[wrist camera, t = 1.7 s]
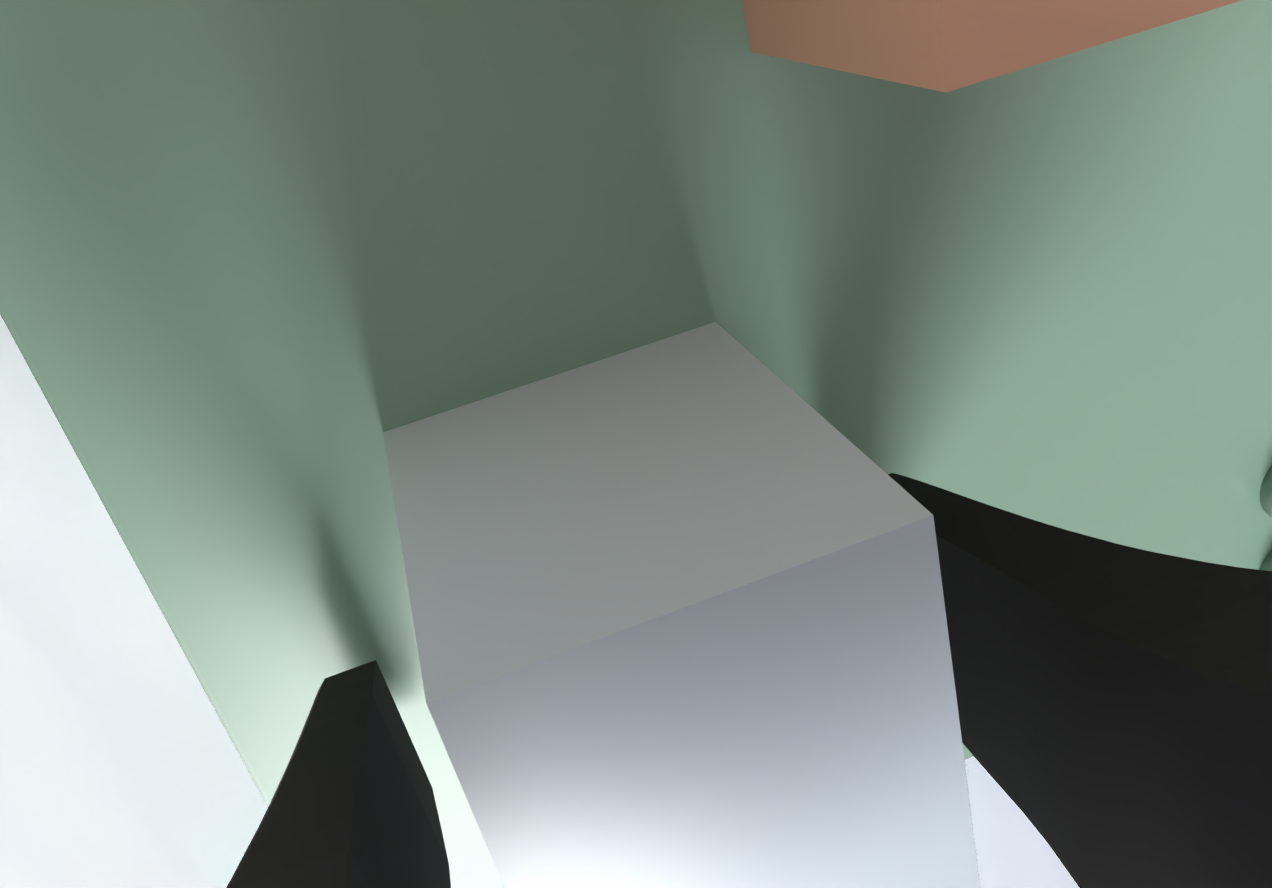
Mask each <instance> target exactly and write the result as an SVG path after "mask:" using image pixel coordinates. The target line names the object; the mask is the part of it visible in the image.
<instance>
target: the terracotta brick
mask: <svg viewBox="0 0 1272 888" xmlns="http://www.w3.org/2000/svg"><path fill="white" fill-rule="evenodd" d="M1239 1H1242V0H742V6H743V11H744V17H745V22H746V28H747V34H748V39H749V45H750V51H751V52H753V53H758V54H763V55H767V56H772V57H777V58H782V59H787V60H791V61H796V62H801V63H806V64H811V65H816V66H820V67H825V68H830V69H835V70H840V71H844V72H849V73H854V74H859V75H864V76H869V77H873V78H878V79H883V80H888V81H893V82H898V83H902V84H907V85H912V86H917V87H922V88H926V89H931V90H936V91H941V92H949V91H953V90H956V89H959V88H962V87H966V86H969V85H972V84H975V83H978V82H982V81H985V80H988V79H991V78H995V77H998V76H1001V75H1004V74H1007V73H1011V72H1014V71H1017V70H1020V69H1023V68H1027V67H1030V66H1033V65H1036V64H1040V63H1043V62H1046V61H1049V60H1052V59H1056V58H1059V57H1062V56H1065V55H1069V54H1072V53H1075V52H1078V51H1081V50H1085V49H1088V48H1091V47H1094V46H1097V45H1101V44H1104V43H1107V42H1110V41H1114V40H1117V39H1120V38H1123V37H1126V36H1130V35H1133V34H1136V33H1139V32H1143V31H1146V30H1149V29H1152V28H1155V27H1159V26H1162V25H1165V24H1168V23H1171V22H1175V21H1178V20H1181V19H1184V18H1188V17H1191V16H1194V15H1197V14H1200V13H1204V12H1207V11H1210V10H1213V9H1217V8H1220V7H1223V6H1226V5H1229V4H1233V3H1236V2H1239Z"/></svg>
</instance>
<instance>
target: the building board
mask: <svg viewBox="0 0 1272 888" xmlns="http://www.w3.org/2000/svg"><path fill="white" fill-rule="evenodd" d="M0 314H1V316H2V318H3V320H4V322H5V324H6V326H7V327H8V329H9V331H10V333H11V335H12V337H13V338H14V340H15V342H16V344H17V346H18V348H19V349H20V351H21V353H22V355H23V357H24V359H25V361H26V362H27V364H28V366H29V368H30V370H31V372H32V373H33V375H34V377H35V379H36V381H37V383H38V384H39V386H40V388H41V390H42V392H43V394H44V396H45V397H46V399H47V401H48V403H49V405H50V407H51V408H52V410H53V412H54V414H55V416H56V418H57V420H58V421H59V423H60V425H61V427H62V429H63V431H64V432H65V434H66V436H67V438H68V440H69V442H70V443H71V445H72V447H73V449H74V451H75V453H76V455H77V456H78V458H79V460H80V462H81V464H82V466H83V467H84V469H85V471H86V473H87V475H88V477H89V478H90V480H91V482H92V484H93V486H94V488H95V490H96V491H97V493H98V495H99V497H100V499H101V501H102V502H103V504H104V506H105V508H106V510H107V512H108V514H109V515H110V517H111V519H112V521H113V523H114V525H115V526H116V528H117V530H118V532H119V534H120V536H121V537H122V539H123V541H124V543H125V545H126V547H127V549H128V550H129V552H130V554H131V556H132V558H133V560H134V561H135V563H136V565H137V567H138V569H139V571H140V572H141V574H142V576H143V578H144V580H145V582H146V584H147V585H148V587H149V589H150V591H151V593H152V595H153V596H154V598H155V600H156V602H157V604H158V606H159V608H160V609H161V611H162V613H163V615H164V617H165V619H166V620H167V622H168V624H169V626H170V628H171V630H172V631H173V633H174V635H175V637H176V639H177V641H178V643H179V644H180V646H181V648H182V650H183V652H184V654H185V655H186V657H187V659H188V661H189V663H190V665H191V666H192V668H193V670H194V672H195V674H196V676H197V678H198V679H199V681H200V683H201V685H202V687H203V689H204V690H205V692H206V694H207V696H208V698H209V700H210V702H211V703H212V705H213V707H214V709H215V711H216V713H217V714H218V716H219V718H220V720H221V722H222V724H223V725H224V727H225V729H226V731H227V733H228V735H229V737H230V738H231V740H232V742H233V744H234V746H235V748H236V749H237V751H238V753H239V755H240V757H241V759H242V760H243V762H244V764H245V766H246V768H247V770H248V772H249V773H250V775H251V777H252V779H253V781H254V783H255V784H256V786H257V788H258V790H259V792H260V794H261V796H262V797H263V799H264V801H265V803H266V805H267V807H269V805H270V802H271V800H272V798H273V796H274V794H275V792H276V789H277V787H278V785H279V783H280V781H281V778H282V776H283V774H284V772H285V770H286V768H287V765H288V763H289V761H290V758H291V756H292V754H293V751H294V749H295V747H296V744H297V742H298V739H299V737H300V735H301V732H302V730H303V727H304V725H305V722H306V720H307V717H308V715H309V712H310V710H311V707H312V705H313V702H314V700H315V697H316V695H317V693H318V690H319V688H320V686H321V684H322V683H323V681H324V679H325V678H327V677H330V676H333V675H336V674H338V673H341V672H344V671H347V670H349V669H352V668H355V667H358V666H361V665H363V664H366V663H369V662H372V661H374V660H376V661H377V663H378V665H379V668H380V670H381V672H382V675H383V677H384V679H385V681H386V684H387V686H388V688H389V690H390V693H391V695H392V697H393V700H394V702H395V704H396V706H397V709H398V711H399V713H400V715H401V718H402V720H403V722H404V725H405V727H406V729H407V731H408V734H409V736H410V738H411V740H412V743H413V745H414V747H415V749H416V752H417V754H418V756H419V759H420V761H421V763H422V765H423V768H424V770H425V772H426V774H427V777H428V779H429V781H430V784H431V786H432V788H433V793H434V797H435V802H436V806H437V811H438V815H439V820H440V824H441V829H442V834H443V839H444V843H445V848H446V853H447V858H448V863H449V871H450V881H451V888H504V886H503V883H502V881H501V879H500V876H499V874H498V872H497V869H496V867H495V865H494V862H493V860H492V857H491V855H490V853H489V850H488V848H487V846H486V843H485V841H484V839H483V836H482V834H481V831H480V829H479V827H478V824H477V822H476V820H475V817H474V815H473V813H472V810H471V808H470V805H469V803H468V801H467V798H466V796H465V794H464V791H463V789H462V786H461V784H460V782H459V779H458V777H457V775H456V772H455V770H454V768H453V765H452V763H451V760H450V758H449V756H448V753H447V751H446V749H445V746H444V744H443V742H442V739H441V737H440V734H439V732H438V730H437V727H436V725H435V723H434V720H433V718H432V716H431V713H430V711H429V708H428V706H427V704H426V699H425V693H424V686H423V680H422V674H421V667H420V661H419V655H418V648H417V642H416V636H415V630H414V623H413V617H412V611H411V604H410V598H409V592H408V586H407V579H406V573H405V567H404V560H403V554H402V548H401V541H400V535H399V529H398V523H397V516H396V510H395V504H394V497H393V491H392V485H391V478H390V472H389V466H388V460H387V453H386V447H385V441H384V434H383V432H386V431H389V430H392V429H395V428H398V427H401V426H404V425H407V424H410V423H413V422H416V421H419V420H422V419H425V418H428V417H431V416H434V415H437V414H440V413H443V412H446V411H449V410H452V409H455V408H458V407H461V406H464V405H467V404H470V403H473V402H476V401H479V400H482V399H485V398H488V397H491V396H494V395H497V394H500V393H503V392H506V391H509V390H512V389H515V388H518V387H521V386H524V385H527V384H530V383H533V382H536V381H539V380H542V379H545V378H548V377H551V376H554V375H557V374H560V373H563V372H566V371H569V370H572V369H575V368H578V367H581V366H584V365H587V364H590V363H593V362H596V361H599V360H602V359H605V358H608V357H611V356H614V355H617V354H620V353H623V352H626V351H629V350H632V349H635V348H638V347H641V346H644V345H647V344H650V343H653V342H656V341H659V340H662V339H665V338H668V337H671V336H674V335H677V334H680V333H683V332H686V331H689V330H692V329H695V328H698V327H701V326H704V325H707V324H710V323H713V322H716V323H717V324H719V325H720V326H721V327H722V328H723V329H724V330H725V331H726V332H728V333H729V334H730V335H731V336H732V337H733V338H734V339H735V340H737V341H738V342H739V343H740V344H741V345H742V346H743V347H745V348H746V349H747V350H748V351H749V352H750V353H751V354H752V355H754V356H755V357H756V358H757V359H758V360H759V361H760V362H761V363H763V364H764V365H765V366H766V367H767V368H768V369H769V370H770V371H772V372H773V373H774V374H775V375H776V376H777V377H778V378H779V379H781V380H782V381H783V382H784V383H785V384H786V385H787V386H788V387H790V388H791V389H792V390H793V391H794V392H795V393H796V394H797V395H799V396H800V397H801V398H802V399H803V400H804V401H805V402H806V403H808V404H809V405H810V406H811V407H812V408H813V409H814V410H816V411H817V412H818V413H819V414H820V415H821V416H822V417H823V418H825V419H826V420H827V421H828V422H829V423H830V424H831V425H832V426H834V427H835V428H836V429H837V430H838V431H839V432H840V433H841V434H843V435H844V436H845V437H846V438H847V439H848V440H849V441H850V442H852V443H853V444H854V445H855V446H856V447H857V448H858V449H859V450H861V451H862V452H863V453H864V454H865V455H866V456H867V457H868V458H870V459H871V460H872V461H873V462H874V463H875V464H876V465H877V466H879V467H880V468H881V469H882V470H883V471H884V472H885V473H886V474H890V473H895V474H899V475H902V476H906V477H909V478H912V479H915V480H918V481H921V482H924V483H927V484H930V485H933V486H936V487H939V488H942V489H944V490H947V491H950V492H953V493H956V494H959V495H962V496H964V497H967V498H970V499H973V500H976V501H979V502H981V503H984V504H987V505H990V506H993V507H996V508H999V509H1002V510H1005V511H1008V512H1011V513H1014V514H1017V515H1020V516H1023V517H1026V518H1029V519H1032V520H1035V521H1039V522H1042V523H1045V524H1048V525H1052V526H1055V527H1058V528H1062V529H1065V530H1068V531H1072V532H1076V533H1079V534H1083V535H1087V536H1090V537H1094V538H1098V539H1102V540H1105V541H1109V542H1113V543H1116V544H1120V545H1124V546H1129V547H1133V548H1137V549H1142V550H1146V551H1151V552H1156V553H1161V554H1166V555H1171V556H1177V557H1182V558H1187V559H1192V560H1197V561H1202V562H1208V563H1214V564H1221V565H1227V566H1234V567H1240V568H1248V569H1256V570H1265V571H1272V0H1242V1H1239V2H1236V3H1233V4H1229V5H1226V6H1223V7H1220V8H1217V9H1213V10H1210V11H1207V12H1204V13H1200V14H1197V15H1194V16H1191V17H1188V18H1184V19H1181V20H1178V21H1175V22H1171V23H1168V24H1165V25H1162V26H1159V27H1155V28H1152V29H1149V30H1146V31H1143V32H1139V33H1136V34H1133V35H1130V36H1126V37H1123V38H1120V39H1117V40H1114V41H1110V42H1107V43H1104V44H1101V45H1097V46H1094V47H1091V48H1088V49H1085V50H1081V51H1078V52H1075V53H1072V54H1069V55H1065V56H1062V57H1059V58H1056V59H1052V60H1049V61H1046V62H1043V63H1040V64H1036V65H1033V66H1030V67H1027V68H1023V69H1020V70H1017V71H1014V72H1011V73H1007V74H1004V75H1001V76H998V77H995V78H991V79H988V80H985V81H982V82H978V83H975V84H972V85H969V86H966V87H962V88H959V89H956V90H953V91H949V92H941V91H936V90H931V89H926V88H922V87H917V86H912V85H907V84H902V83H898V82H893V81H888V80H883V79H878V78H873V77H869V76H864V75H859V74H854V73H849V72H844V71H840V70H835V69H830V68H825V67H820V66H816V65H811V64H806V63H801V62H796V61H791V60H787V59H782V58H777V57H772V56H767V55H763V54H758V53H753V52H751V51H750V45H749V39H748V34H747V28H746V22H745V17H744V11H743V6H742V0H0ZM962 744H963V743H962ZM963 752H964V760H965V759H967V758H970V757H972V756H973V755H972V753H971V752H970V751H969V750H968V749H967V748H966V747H965V745H964V744H963Z"/></svg>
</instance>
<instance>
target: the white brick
mask: <svg viewBox="0 0 1272 888" xmlns="http://www.w3.org/2000/svg"><path fill="white" fill-rule="evenodd" d="M383 434H384V441H385V447H386V453H387V460H388V466H389V472H390V478H391V485H392V491H393V497H394V504H395V510H396V516H397V523H398V529H399V535H400V541H401V548H402V554H403V560H404V567H405V573H406V579H407V586H408V592H409V598H410V604H411V611H412V617H413V623H414V630H415V636H416V642H417V648H418V655H419V661H420V667H421V674H422V680H423V686H424V693H425V699H426V704H427V706H428V708H429V711H430V713H431V716H432V718H433V720H434V723H435V725H436V727H437V730H438V732H439V734H440V737H441V739H442V742H443V744H444V746H445V749H446V751H447V753H448V756H449V758H450V760H451V763H452V765H453V768H454V770H455V772H456V775H457V777H458V779H459V782H460V784H461V786H462V789H463V791H464V794H465V796H466V798H467V801H468V803H469V805H470V808H471V810H472V813H473V815H474V817H475V820H476V822H477V824H478V827H479V829H480V831H481V834H482V836H483V839H484V841H485V843H486V846H487V848H488V850H489V853H490V855H491V857H492V860H493V862H494V865H495V867H496V869H497V872H498V874H499V876H500V879H501V881H502V883H503V886H504V888H981V886H980V878H979V870H978V862H977V854H976V847H975V839H974V831H973V823H972V815H971V807H970V799H969V792H968V784H967V776H966V768H965V760H964V752H963V744H962V737H961V729H960V721H959V713H958V705H957V697H956V689H955V682H954V674H953V666H952V658H951V650H950V642H949V635H948V627H947V619H946V611H945V603H944V595H943V587H942V580H941V572H940V564H939V556H938V548H937V540H936V532H935V525H934V517H933V514H932V513H930V512H929V511H928V510H927V509H926V508H925V507H924V506H923V505H921V504H920V503H919V502H918V501H917V500H916V499H915V498H914V497H912V496H911V495H910V494H909V493H908V492H907V491H906V490H905V489H903V488H902V487H901V486H900V485H899V484H898V483H897V482H896V481H894V480H893V479H892V478H891V477H890V476H889V475H888V474H886V473H885V472H884V471H883V470H882V469H881V468H880V467H879V466H877V465H876V464H875V463H874V462H873V461H872V460H871V459H870V458H868V457H867V456H866V455H865V454H864V453H863V452H862V451H861V450H859V449H858V448H857V447H856V446H855V445H854V444H853V443H852V442H850V441H849V440H848V439H847V438H846V437H845V436H844V435H843V434H841V433H840V432H839V431H838V430H837V429H836V428H835V427H834V426H832V425H831V424H830V423H829V422H828V421H827V420H826V419H825V418H823V417H822V416H821V415H820V414H819V413H818V412H817V411H816V410H814V409H813V408H812V407H811V406H810V405H809V404H808V403H806V402H805V401H804V400H803V399H802V398H801V397H800V396H799V395H797V394H796V393H795V392H794V391H793V390H792V389H791V388H790V387H788V386H787V385H786V384H785V383H784V382H783V381H782V380H781V379H779V378H778V377H777V376H776V375H775V374H774V373H773V372H772V371H770V370H769V369H768V368H767V367H766V366H765V365H764V364H763V363H761V362H760V361H759V360H758V359H757V358H756V357H755V356H754V355H752V354H751V353H750V352H749V351H748V350H747V349H746V348H745V347H743V346H742V345H741V344H740V343H739V342H738V341H737V340H735V339H734V338H733V337H732V336H731V335H730V334H729V333H728V332H726V331H725V330H724V329H723V328H722V327H721V326H720V325H719V324H717V323H716V322H713V323H710V324H707V325H704V326H701V327H698V328H695V329H692V330H689V331H686V332H683V333H680V334H677V335H674V336H671V337H668V338H665V339H662V340H659V341H656V342H653V343H650V344H647V345H644V346H641V347H638V348H635V349H632V350H629V351H626V352H623V353H620V354H617V355H614V356H611V357H608V358H605V359H602V360H599V361H596V362H593V363H590V364H587V365H584V366H581V367H578V368H575V369H572V370H569V371H566V372H563V373H560V374H557V375H554V376H551V377H548V378H545V379H542V380H539V381H536V382H533V383H530V384H527V385H524V386H521V387H518V388H515V389H512V390H509V391H506V392H503V393H500V394H497V395H494V396H491V397H488V398H485V399H482V400H479V401H476V402H473V403H470V404H467V405H464V406H461V407H458V408H455V409H452V410H449V411H446V412H443V413H440V414H437V415H434V416H431V417H428V418H425V419H422V420H419V421H416V422H413V423H410V424H407V425H404V426H401V427H398V428H395V429H392V430H389V431H386V432H383Z"/></svg>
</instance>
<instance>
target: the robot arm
mask: <svg viewBox="0 0 1272 888" xmlns="http://www.w3.org/2000/svg"><path fill="white" fill-rule="evenodd" d="M888 475H889V476H890V477H891V478H892V479H893V480H894V481H896V482H897V483H898V484H899V485H900V486H901V487H902V488H903V489H905V490H906V491H907V492H908V493H909V494H910V495H911V496H912V497H914V498H915V499H916V500H917V501H918V502H919V503H920V504H921V505H923V506H924V507H925V508H926V509H927V510H928V511H929V512H930V513H932V514H933V517H934V525H935V532H936V540H937V548H938V556H939V564H940V572H941V580H942V587H943V595H944V603H945V611H946V619H947V627H948V635H949V642H950V650H951V658H952V666H953V674H954V682H955V689H956V697H957V705H958V713H959V721H960V729H961V737H962V743H963V744H964V745H965V747H966V748H967V749H968V750H969V751H970V752H971V753H972V755H973V756H974V757H975V758H976V759H977V760H978V761H979V762H980V764H981V765H982V766H983V767H984V768H985V769H986V770H987V772H988V773H989V774H990V775H991V776H992V777H993V778H994V779H995V781H996V782H997V783H998V784H999V785H1000V786H1001V787H1002V789H1003V790H1004V791H1005V792H1006V793H1007V794H1008V795H1009V797H1010V798H1011V799H1012V800H1013V801H1014V802H1015V803H1016V804H1017V806H1018V807H1019V808H1020V809H1021V810H1022V811H1023V812H1024V814H1025V815H1026V816H1027V817H1028V819H1029V820H1030V821H1031V822H1032V824H1033V825H1034V826H1035V827H1036V829H1037V830H1038V831H1039V832H1040V834H1041V835H1042V836H1043V837H1044V839H1045V840H1046V841H1047V842H1048V844H1049V845H1050V846H1051V848H1052V849H1053V851H1054V852H1055V853H1056V855H1057V856H1058V858H1059V859H1060V861H1061V862H1062V863H1063V865H1064V866H1065V868H1066V869H1067V870H1068V872H1069V873H1070V875H1071V876H1072V877H1073V879H1074V880H1075V882H1076V883H1077V884H1078V886H1079V887H1080V888H1272V571H1265V570H1256V569H1248V568H1240V567H1234V566H1227V565H1221V564H1214V563H1208V562H1202V561H1197V560H1192V559H1187V558H1182V557H1177V556H1171V555H1166V554H1161V553H1156V552H1151V551H1146V550H1142V549H1137V548H1133V547H1129V546H1124V545H1120V544H1116V543H1113V542H1109V541H1105V540H1102V539H1098V538H1094V537H1090V536H1087V535H1083V534H1079V533H1076V532H1072V531H1068V530H1065V529H1062V528H1058V527H1055V526H1052V525H1048V524H1045V523H1042V522H1039V521H1035V520H1032V519H1029V518H1026V517H1023V516H1020V515H1017V514H1014V513H1011V512H1008V511H1005V510H1002V509H999V508H996V507H993V506H990V505H987V504H984V503H981V502H979V501H976V500H973V499H970V498H967V497H964V496H962V495H959V494H956V493H953V492H950V491H947V490H944V489H942V488H939V487H936V486H933V485H930V484H927V483H924V482H921V481H918V480H915V479H912V478H909V477H906V476H902V475H899V474H895V473H890V474H888ZM227 888H451V881H450V871H449V863H448V858H447V853H446V848H445V843H444V839H443V834H442V829H441V824H440V820H439V815H438V811H437V806H436V802H435V797H434V793H433V788H432V786H431V784H430V781H429V779H428V777H427V774H426V772H425V770H424V768H423V765H422V763H421V761H420V759H419V756H418V754H417V752H416V749H415V747H414V745H413V743H412V740H411V738H410V736H409V734H408V731H407V729H406V727H405V725H404V722H403V720H402V718H401V715H400V713H399V711H398V709H397V706H396V704H395V702H394V700H393V697H392V695H391V693H390V690H389V688H388V686H387V684H386V681H385V679H384V677H383V675H382V672H381V670H380V668H379V665H378V663H377V661H376V660H374V661H372V662H369V663H366V664H363V665H361V666H358V667H355V668H352V669H349V670H347V671H344V672H341V673H338V674H336V675H333V676H330V677H327V678H325V679H324V681H323V683H322V684H321V686H320V688H319V690H318V693H317V695H316V697H315V700H314V702H313V705H312V707H311V710H310V712H309V715H308V717H307V720H306V722H305V725H304V727H303V730H302V732H301V735H300V737H299V739H298V742H297V744H296V747H295V749H294V751H293V754H292V756H291V758H290V761H289V763H288V765H287V768H286V770H285V772H284V774H283V776H282V778H281V781H280V783H279V785H278V787H277V789H276V792H275V794H274V796H273V798H272V800H271V802H270V805H269V807H268V809H267V811H266V813H265V815H264V817H263V819H262V821H261V824H260V826H259V828H258V829H257V831H256V833H255V835H254V837H253V839H252V841H251V843H250V845H249V846H248V848H247V850H246V852H245V854H244V856H243V858H242V860H241V862H240V863H239V865H238V867H237V869H236V871H235V873H234V875H233V877H232V879H231V881H230V882H229V884H228V886H227Z"/></svg>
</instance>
